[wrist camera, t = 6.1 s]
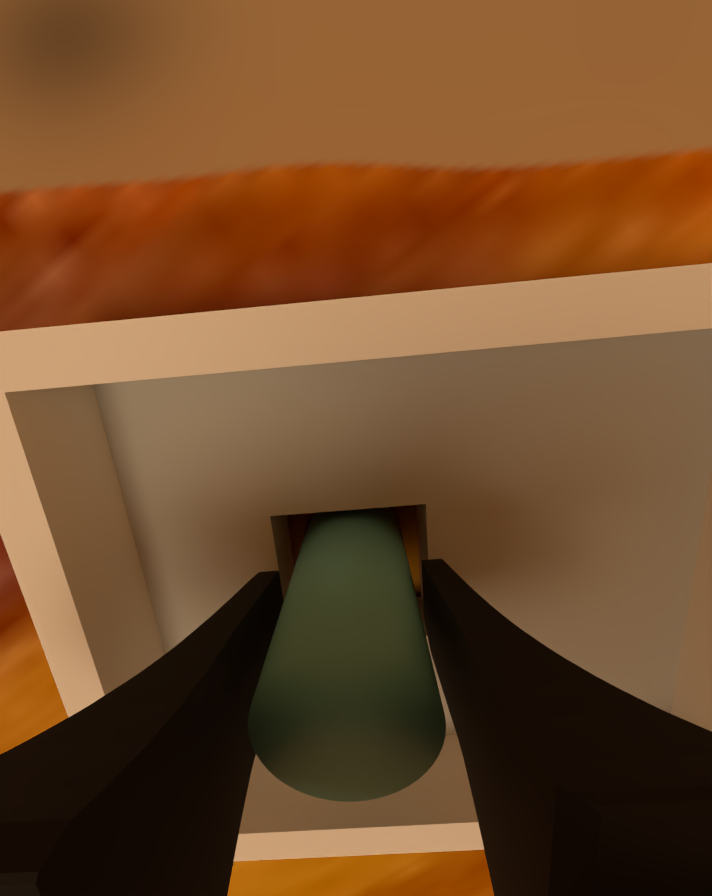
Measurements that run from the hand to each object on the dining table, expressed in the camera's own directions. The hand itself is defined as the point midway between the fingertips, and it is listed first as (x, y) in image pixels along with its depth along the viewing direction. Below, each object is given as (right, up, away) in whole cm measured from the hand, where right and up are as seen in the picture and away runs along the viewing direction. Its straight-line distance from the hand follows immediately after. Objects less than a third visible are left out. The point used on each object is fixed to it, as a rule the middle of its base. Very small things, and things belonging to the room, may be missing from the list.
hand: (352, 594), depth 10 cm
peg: (0, +1, +3) cm, 3 cm away
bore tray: (+2, +1, +3) cm, 3 cm away
